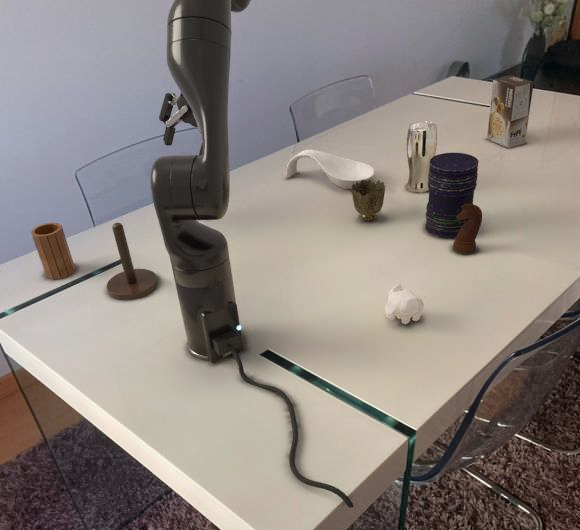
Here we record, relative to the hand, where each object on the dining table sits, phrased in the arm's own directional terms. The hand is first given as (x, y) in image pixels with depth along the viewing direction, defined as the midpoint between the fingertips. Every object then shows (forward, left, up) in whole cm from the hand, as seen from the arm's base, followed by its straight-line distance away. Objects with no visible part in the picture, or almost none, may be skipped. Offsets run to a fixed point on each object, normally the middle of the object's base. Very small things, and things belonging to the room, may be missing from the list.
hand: (184, 152), depth 138 cm
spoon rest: (-1, -37, -17) cm, 41 cm away
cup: (-24, -31, -17) cm, 43 cm away
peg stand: (-16, +23, -17) cm, 33 cm away
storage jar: (-39, -41, -17) cm, 59 cm away
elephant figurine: (-59, -11, -17) cm, 63 cm away
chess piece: (-48, -37, -17) cm, 63 cm away
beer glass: (-19, -51, -17) cm, 58 cm away
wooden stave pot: (0, +33, -17) cm, 37 cm away
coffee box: (-12, -89, -17) cm, 92 cm away
